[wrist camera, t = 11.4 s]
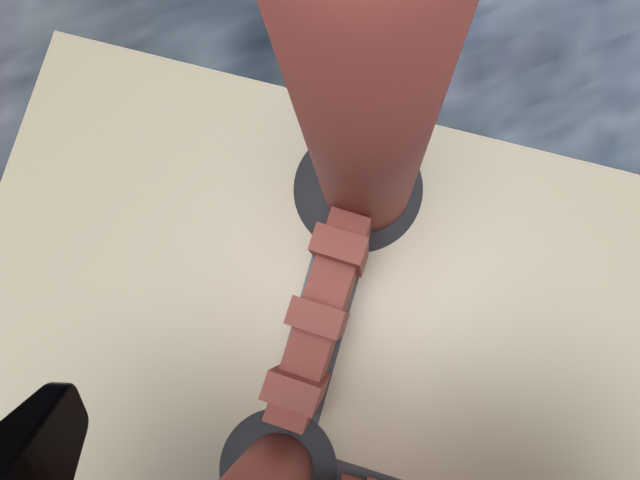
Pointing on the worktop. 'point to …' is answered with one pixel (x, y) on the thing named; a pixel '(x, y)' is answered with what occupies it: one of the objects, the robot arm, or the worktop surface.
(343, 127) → the pink rounded part
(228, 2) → the worktop surface
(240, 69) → the worktop surface
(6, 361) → the card
